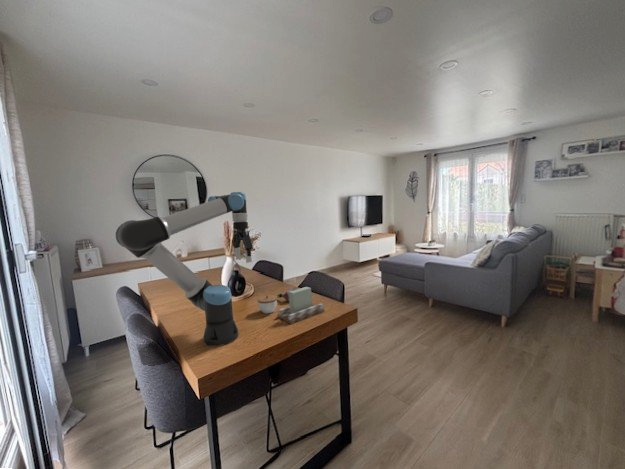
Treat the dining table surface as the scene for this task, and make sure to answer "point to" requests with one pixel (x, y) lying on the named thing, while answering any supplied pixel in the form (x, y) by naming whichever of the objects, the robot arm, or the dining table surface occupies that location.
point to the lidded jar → (267, 303)
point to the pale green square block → (300, 299)
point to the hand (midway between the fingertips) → (243, 260)
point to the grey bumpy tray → (300, 313)
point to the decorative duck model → (286, 294)
